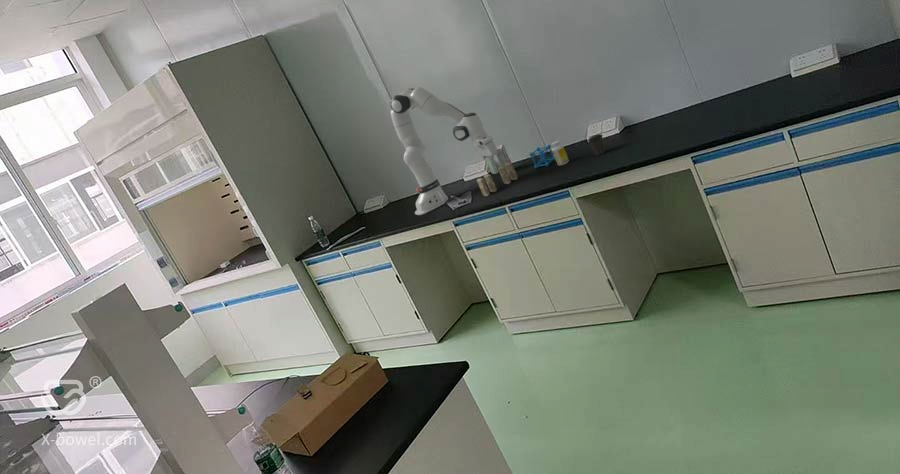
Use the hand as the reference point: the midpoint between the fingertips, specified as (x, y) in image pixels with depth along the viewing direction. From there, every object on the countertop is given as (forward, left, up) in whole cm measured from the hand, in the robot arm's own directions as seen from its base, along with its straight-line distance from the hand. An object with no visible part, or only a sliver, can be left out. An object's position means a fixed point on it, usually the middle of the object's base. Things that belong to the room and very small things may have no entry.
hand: (490, 162), depth 361 cm
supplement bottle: (+30, -23, -16) cm, 41 cm away
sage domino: (0, 0, -7) cm, 7 cm away
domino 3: (+5, 0, -15) cm, 16 cm away
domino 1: (-10, 0, -15) cm, 18 cm away
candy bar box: (+19, +21, -16) cm, 32 cm away
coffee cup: (+42, -42, -16) cm, 61 cm away
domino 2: (-5, 0, -15) cm, 16 cm away
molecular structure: (+29, -6, -16) cm, 33 cm away
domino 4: (+10, 0, -15) cm, 18 cm away
